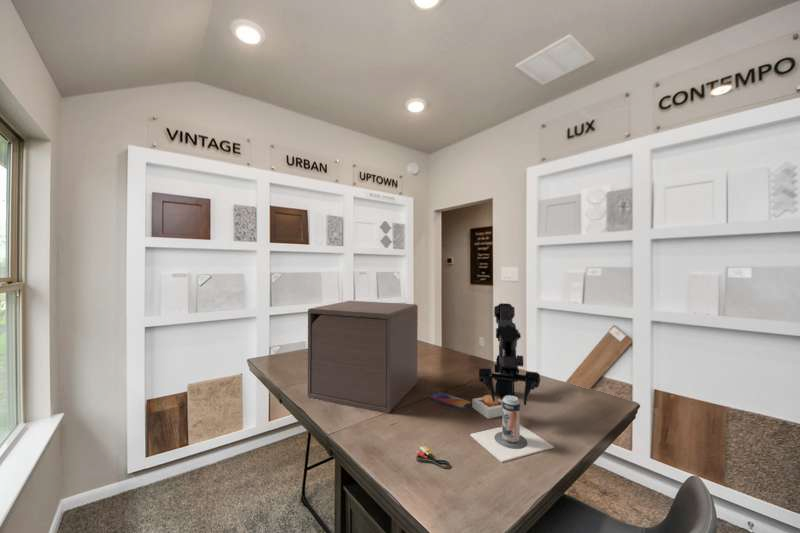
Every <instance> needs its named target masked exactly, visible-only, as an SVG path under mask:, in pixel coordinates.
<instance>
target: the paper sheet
mask: <svg viewBox="0 0 800 533" xmlns="http://www.w3.org/2000/svg"><path fill="white" fill-rule="evenodd" d="M469 436H471V438H473V439H474V440H475V441H476V442H477V443H479V444H480V445H481V446H482V447H483V448H484V449H486V451H488V452H489V453H490V454H491V455H493V457H495V458H496V459H497V460H498V461H499V462H500V463H505V462H508V461H512V460H516V459H519V458H522V457H526V456H530V455H532V454H533V455H534V454H537V453H540V452H543V451H547V450H550V449H555V447H554V446H555V445H553V444H550V442H548V441H547V440H545V439H544V438H542V437H540V436H538V435H537V434H535V433H534V432H532V431H531V430H529V429H528V428H526V427H524V426H523V425H521V424H520V439H519V441H518V442H515V443H511V442H508V441H506V440H504V439H503V437H502V426H500V427H495V428H491V429H487V430H482V431H478V432H474V433H473V432H472V433H470V435H469Z"/></svg>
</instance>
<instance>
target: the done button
mask: <svg viewBox="0 0 800 533" xmlns="http://www.w3.org/2000/svg"><path fill="white" fill-rule="evenodd" d="M494 396H495V401H494V402H493V400H492V397H491V394H486V395H484V396H482V397H483V403H484V404H485V405H487V406H490V407H492V406H497V405H498V399H499V396H498V397H497V396H496V395H494Z"/></svg>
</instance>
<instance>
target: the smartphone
mask: <svg viewBox="0 0 800 533" xmlns="http://www.w3.org/2000/svg"><path fill="white" fill-rule="evenodd" d="M429 399H430V400H432V399H433V401H435V400H436V402H438V403H442V404H443V403H444V405H447V406H449V407H452V408H454V409H457V410H460V411H464V410H465V409H467V408H469V407H470V405H471V406H472V401H471V400H468V399H465V398H461V397H459V396H455V395H452V394H448V393H447V392H442V391H437V392H436V393H434V394H431V395H429Z"/></svg>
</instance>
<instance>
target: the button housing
mask: <svg viewBox="0 0 800 533" xmlns="http://www.w3.org/2000/svg"><path fill="white" fill-rule="evenodd" d="M483 397H484V396H481V397H475V398H472V401H471V402H472V405H471V406H472V408H473V409H474V410H475V411H477V412H478V413H479V414H480V415H482V416H483V417H485V418H487V419H488V420H489V419H494V418H498V417H499V418H500V417H502V400H503V399H502V400H501V399H500V398H498V405H497V406H492V407H490V406H487V405H485V404H484V403H483Z"/></svg>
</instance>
